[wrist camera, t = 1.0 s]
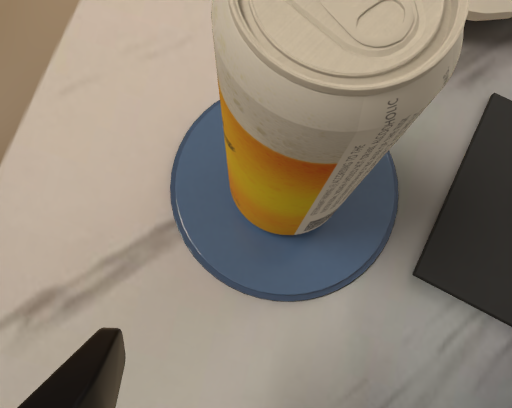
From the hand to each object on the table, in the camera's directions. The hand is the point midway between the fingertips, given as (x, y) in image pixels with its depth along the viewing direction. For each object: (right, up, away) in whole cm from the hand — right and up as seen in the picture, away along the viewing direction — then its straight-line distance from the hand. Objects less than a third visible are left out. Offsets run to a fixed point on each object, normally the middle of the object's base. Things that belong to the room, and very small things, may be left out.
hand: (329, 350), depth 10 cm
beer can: (0, +4, +15) cm, 15 cm away
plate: (0, +4, +15) cm, 16 cm away
